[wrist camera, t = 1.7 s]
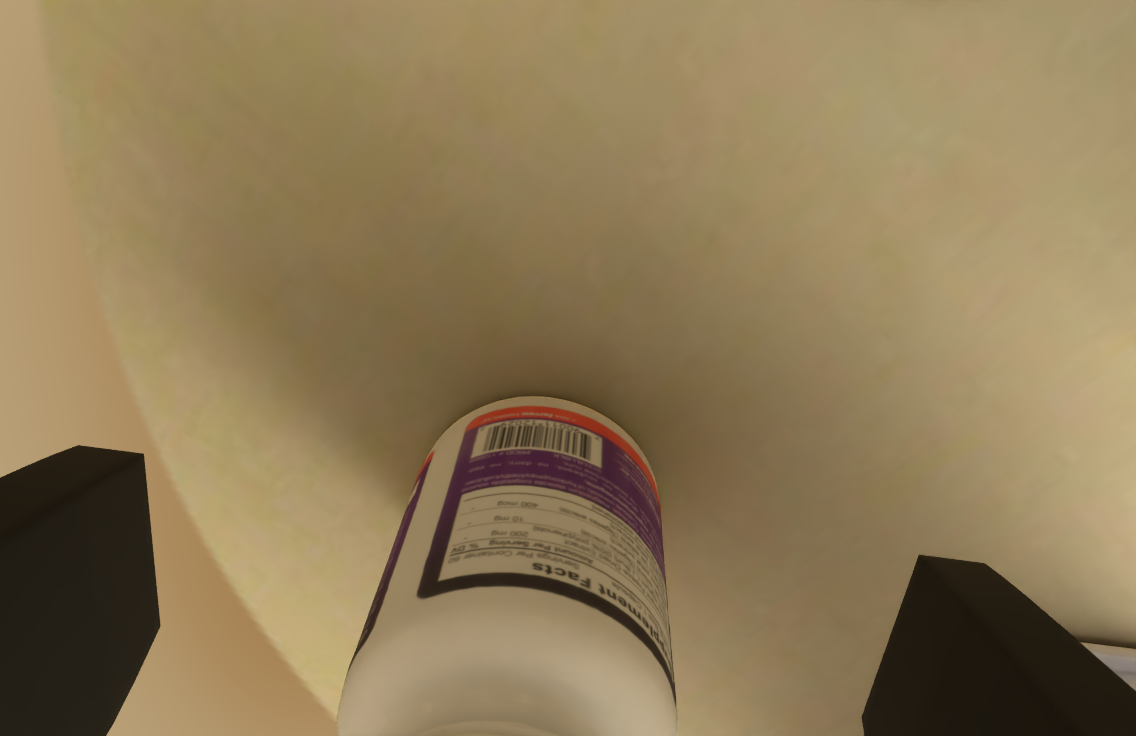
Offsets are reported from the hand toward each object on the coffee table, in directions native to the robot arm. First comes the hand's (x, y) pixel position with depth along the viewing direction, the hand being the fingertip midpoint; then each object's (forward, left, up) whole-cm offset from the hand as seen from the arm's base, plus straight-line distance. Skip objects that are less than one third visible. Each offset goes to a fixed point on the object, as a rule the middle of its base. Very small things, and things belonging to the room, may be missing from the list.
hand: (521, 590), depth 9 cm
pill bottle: (-6, 0, -11) cm, 12 cm away
